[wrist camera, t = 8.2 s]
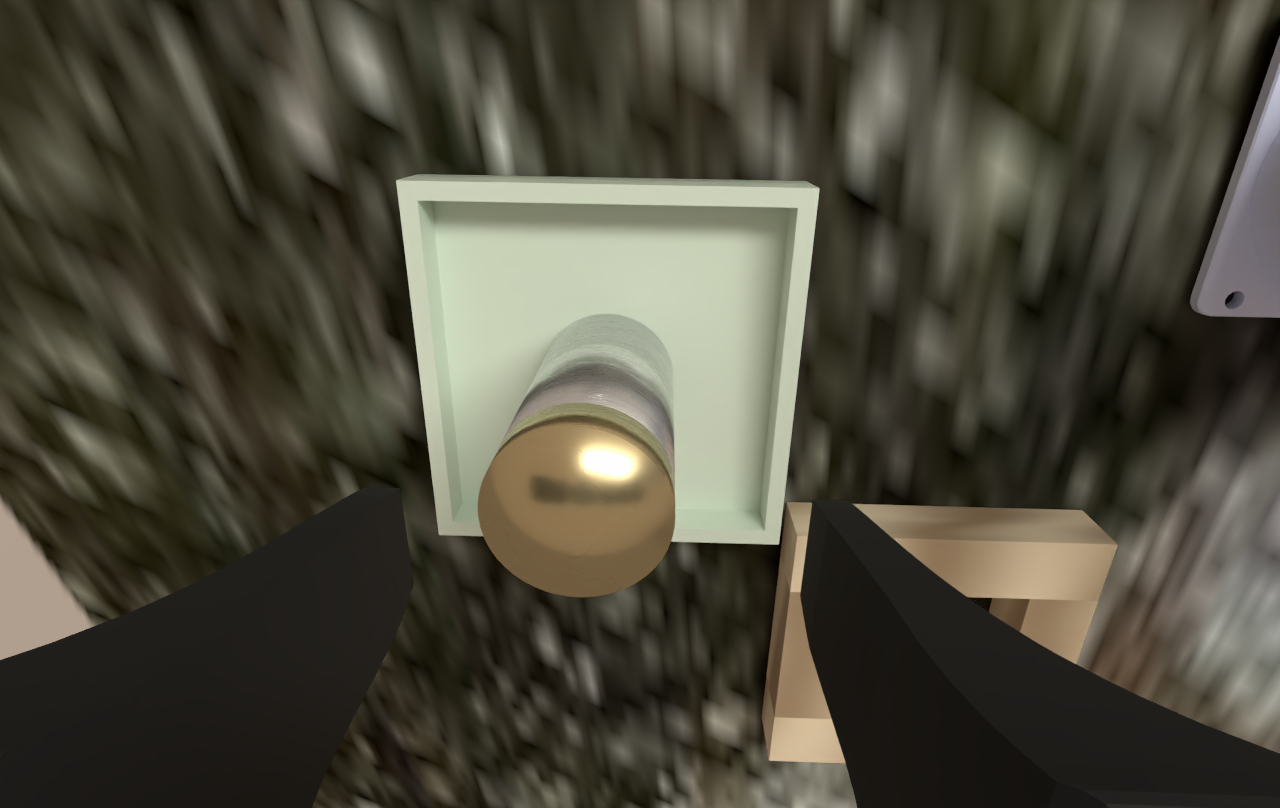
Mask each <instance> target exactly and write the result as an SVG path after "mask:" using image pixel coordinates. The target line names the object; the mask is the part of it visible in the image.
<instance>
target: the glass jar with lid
mask: <svg viewBox="0 0 1280 808" xmlns="http://www.w3.org/2000/svg"><path fill="white" fill-rule="evenodd" d="M477 506H478V519H479V523H480V528H481V531H482V533H483V536H484V539H485V541H486V542H487V544H488V546H489V548H490V550H491V551H492V552H493V554H494V555H495V557H496V558H497V559H498V560H499V561H500V562H501V563H502V565H503V566H504V567H505V568H507V569H508V570H509V571H510V572H511V573H512V574H514V575H515V576H517V577H518V578H520V579H521V580H522V581H524V582H526V583H528V584H530V585H532V586H534V587H536V588H539V589H541V590H544V591H546V592H550V593H554V594H557V595H563V596H569V597H595V596H602V595H607V594H611V593H614V592H618V591H620V590H623V589H625V588H628V587H630V586H631V585H633V584H635V583H637V582H639V581H640V580H641V579H643V578H644V577H645V576H647V575H648V574H649V573H650V572H651V571H652V570H653V569H654V568H655V567H656V566H657V565H658V564H659V562H660V561H661V560H662V558H663V557H664V555H665V553H666V552H667V550H668V548H669V545H670V543H671V540H672V537H673V533H674V528H675V459H674V391H673V367H672V363H671V359H670V356H669V353H668V351H667V349H666V347H665V346H664V344H663V343H662V341H661V340H660V338H659V337H658V336H657V335H656V334H655V333H654V332H653V331H652V330H650V329H649V328H648V327H647V326H645V325H644V324H642V323H640V322H638V321H636V320H634V319H632V318H629V317H626V316H622V315H617V314H596V315H591V316H587V317H584V318H581V319H579V320H577V321H575V322H573V323H572V324H570V325H569V326H567V327H566V328H565V329H564V330H563V331H561V332H560V333H559V335H558V336H557V337H556V338H555V339H554V341H553V343H552V344H551V346H550V348H549V350H548V352H547V354H546V356H545V358H544V360H543V362H542V364H541V366H540V367H539V369H538V371H537V373H536V375H535V377H534V379H533V381H532V383H531V385H530V387H529V389H528V391H527V393H526V395H525V397H524V399H523V401H522V403H521V405H520V407H519V409H518V411H517V413H516V415H515V417H514V419H513V421H512V423H511V425H510V427H509V428H508V430H507V432H506V434H505V436H504V438H503V440H502V442H501V444H500V446H499V448H498V450H497V452H496V454H495V456H494V458H493V460H492V462H491V464H490V466H489V468H488V470H487V472H486V474H485V476H484V478H483V481H482V483H481V487H480V491H479V495H478V505H477Z"/></svg>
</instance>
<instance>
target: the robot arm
mask: <svg viewBox="0 0 1280 808" xmlns="http://www.w3.org/2000/svg"><path fill="white" fill-rule="evenodd" d="M1232 292H1234V297H1233V299H1232V300H1231V302H1229V303H1228V304H1226V305H1225V299H1226V298H1227V296H1228V295H1229V294H1231V293H1232ZM1190 304H1191V307H1192V309H1193V310H1195V311H1196V312H1198V313H1200V314H1203V315H1207V316H1225V317H1271V318H1280V36H1279V39H1278V42H1277V45H1276V48H1275V51H1274V54H1273V57H1272V59H1271V62H1270V65H1269V68H1268V71H1267V74H1266V77H1265V80H1264V83H1263V86H1262V89H1261V92H1260V95H1259V98H1258V101H1257V103H1256V106H1255V109H1254V112H1253V115H1252V118H1251V121H1250V124H1249V127H1248V130H1247V133H1246V136H1245V139H1244V142H1243V145H1242V148H1241V150H1240V153H1239V156H1238V159H1237V162H1236V165H1235V168H1234V171H1233V174H1232V177H1231V180H1230V183H1229V186H1228V189H1227V192H1226V195H1225V197H1224V200H1223V203H1222V206H1221V209H1220V212H1219V215H1218V218H1217V221H1216V224H1215V227H1214V230H1213V233H1212V236H1211V239H1210V242H1209V244H1208V247H1207V250H1206V253H1205V256H1204V259H1203V262H1202V265H1201V268H1200V271H1199V274H1198V277H1197V280H1196V283H1195V286H1194V289H1193V291H1192V294H1191V299H1190ZM413 584H414V582H413V575H412V568H411V562H410V555H409V548H408V541H407V534H406V527H405V520H404V514H403V507H402V500H401V493H400V488H364V489H361V490H359V491H357V492H355V493H353V494H351V495H350V496H348V497H346V498H344V499H342V500H341V501H339V502H337V503H335V504H334V505H332V506H330V507H329V508H327V509H325V510H324V511H322V512H320V513H319V514H317V515H315V516H314V517H312V518H310V519H309V520H307V521H305V522H303V523H302V524H300V525H298V526H297V527H295V528H293V529H292V530H290V531H288V532H287V533H285V534H283V535H282V536H280V537H278V538H276V539H275V540H273V541H271V542H270V543H268V544H266V545H264V546H263V547H261V548H259V549H257V550H255V551H253V552H252V553H250V554H248V555H246V556H244V557H242V558H241V559H239V560H237V561H235V562H233V563H231V564H230V565H228V566H226V567H224V568H222V569H220V570H219V571H217V572H215V573H213V574H211V575H209V576H207V577H205V578H203V579H201V580H199V581H197V582H196V583H193V584H191V585H189V586H187V587H185V588H183V589H181V590H179V591H177V592H175V593H172V594H170V595H168V596H166V597H164V598H161V599H159V600H157V601H155V602H153V603H150V604H148V605H146V606H144V607H142V608H139V609H137V610H134V611H132V612H130V613H127V614H125V615H122V616H120V617H117V618H115V619H112V620H110V621H107V622H104V623H102V624H99V625H97V626H94V627H91V628H89V629H86V630H84V631H81V632H79V633H76V634H74V635H71V636H68V637H66V638H63V639H60V640H58V641H55V642H52V643H50V644H47V645H44V646H41V647H38V648H35V649H32V650H30V651H26V652H23V653H20V654H18V655H15V656H11V657H8V658H5V659H2V660H0V808H312V805H313V803H314V800H315V798H316V795H317V793H318V790H319V787H320V785H321V782H322V780H323V778H324V775H325V773H326V771H327V769H328V767H329V765H330V763H331V760H332V758H333V756H334V754H335V752H336V750H337V748H338V746H339V744H340V742H341V740H342V738H343V736H344V734H345V732H346V731H347V729H348V727H349V725H350V723H351V721H352V719H353V717H354V715H355V713H356V711H357V709H358V708H359V706H360V704H361V702H362V700H363V698H364V696H365V694H366V692H367V690H368V688H369V686H370V685H371V683H372V681H373V679H374V677H375V675H376V673H377V671H378V669H379V667H380V665H381V663H382V661H383V659H384V657H385V655H386V653H387V651H388V649H389V648H390V646H391V643H392V641H393V639H394V637H395V635H396V633H397V630H398V628H399V625H400V622H401V620H402V617H403V614H404V611H405V608H406V605H407V602H408V599H409V596H410V593H411V590H412V587H413ZM800 598H801V604H802V610H803V616H804V622H805V628H806V633H807V639H808V644H809V649H810V652H811V655H812V658H813V662H814V665H815V668H816V671H817V675H818V678H819V681H820V684H821V687H822V691H823V694H824V697H825V700H826V703H827V706H828V709H829V712H830V716H831V719H832V722H833V725H834V728H835V731H836V734H837V737H838V741H839V744H840V747H841V750H842V753H843V756H844V759H845V762H846V766H847V769H848V773H849V776H850V780H851V784H852V787H853V791H854V794H855V799H856V803H857V808H1280V754H1279V753H1276V752H1274V751H1271V750H1269V749H1266V748H1263V747H1261V746H1258V745H1256V744H1253V743H1250V742H1248V741H1245V740H1242V739H1240V738H1237V737H1235V736H1232V735H1229V734H1227V733H1224V732H1222V731H1219V730H1216V729H1214V728H1211V727H1209V726H1206V725H1204V724H1201V723H1199V722H1196V721H1194V720H1192V719H1189V718H1187V717H1185V716H1183V715H1180V714H1178V713H1176V712H1174V711H1172V710H1169V709H1167V708H1165V707H1163V706H1160V705H1158V704H1156V703H1154V702H1151V701H1149V700H1147V699H1145V698H1142V697H1140V696H1138V695H1136V694H1134V693H1132V692H1130V691H1128V690H1126V689H1124V688H1121V687H1119V686H1117V685H1115V684H1113V683H1111V682H1109V681H1107V680H1105V679H1103V678H1101V677H1099V676H1097V675H1095V674H1094V673H1092V672H1090V671H1088V670H1086V669H1084V668H1082V667H1080V666H1078V665H1077V664H1075V663H1073V662H1071V661H1069V660H1067V659H1065V658H1063V657H1061V656H1060V655H1058V654H1056V653H1054V652H1052V651H1051V650H1049V649H1047V648H1045V647H1044V646H1042V645H1040V644H1038V643H1037V642H1035V641H1033V640H1032V639H1030V638H1029V637H1027V636H1025V635H1024V634H1022V633H1021V632H1019V631H1017V630H1016V629H1014V628H1013V627H1011V626H1009V625H1008V624H1006V623H1005V622H1003V621H1001V620H1000V619H998V618H997V617H995V616H994V615H992V614H991V613H989V612H988V611H986V610H985V609H983V608H982V607H980V606H979V605H977V604H976V603H974V602H973V601H972V600H970V599H969V598H968V597H966V596H965V595H964V594H962V593H961V592H959V591H958V590H957V589H955V588H954V587H953V586H951V585H950V584H949V583H947V582H946V581H944V580H943V579H942V578H941V577H939V576H938V575H937V574H936V573H934V572H933V571H932V570H930V569H929V568H928V567H927V566H925V565H924V564H923V563H922V562H920V561H919V560H918V559H917V558H916V557H914V556H913V555H912V554H911V553H910V552H908V551H907V550H906V549H905V548H904V547H902V546H901V545H900V544H899V543H898V542H897V541H895V540H894V539H893V538H892V537H891V536H890V535H888V534H887V533H886V532H885V531H884V530H883V529H881V528H880V527H879V526H878V525H877V524H876V523H875V522H873V521H872V520H871V519H870V518H869V517H868V516H866V515H865V514H864V513H863V512H862V511H861V510H859V509H858V508H857V507H856V506H855V505H853V504H852V503H851V502H849V501H845V500H812V508H811V516H810V523H809V531H808V538H807V546H806V554H805V561H804V569H803V577H802V584H801V592H800Z"/></svg>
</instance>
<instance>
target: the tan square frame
mask: <svg viewBox="0 0 1280 808" xmlns="http://www.w3.org/2000/svg"><path fill="white" fill-rule="evenodd" d="M853 505H855V506H856V507H857V508H858V509H859V510H861V511H862V512H863V513H864V514H865V515H866V516H868V517H869V518H870V519H871V520H872V521H873V522H875V523H876V524H877V525H878V526H879V527H880V528H881V529H883V530H884V531H885V532H886V533H887V534H888V535H890V536H891V537H892V538H893V539H894V540H895V541H897V542H898V543H899V544H900V545H901V546H902V547H904V548H905V549H906V550H907V551H908V552H910V553H911V554H912V555H913V556H914V557H916V558H917V559H918V560H919V561H920V562H922V563H923V564H924V565H925V566H927V567H928V568H929V569H930V570H932V571H933V572H934V573H936V574H937V575H938V576H939V577H941V578H942V579H943V580H944V581H946V582H947V583H949V584H950V585H951V586H953V587H954V588H955V589H957V590H958V591H959V592H961V593H962V594H964V595H965V596H966V597H979V598H992V601H991V605H990V608H989V613H991V614H992V615H994V616H995V617H997V618H998V619H1000V620H1001V621H1003V622H1005V623H1006V624H1008V625H1009V626H1011V627H1013V628H1014V629H1016V630H1017V631H1019V632H1021V633H1022V634H1024V635H1025V636H1027V637H1029V638H1030V639H1032V640H1033V641H1035V642H1037V643H1038V644H1040V645H1042V646H1044V647H1045V648H1047V649H1049V650H1051V651H1052V652H1054V653H1056V654H1058V655H1060V656H1061V657H1063V658H1065V659H1067V660H1069V661H1071V662H1073V663H1075V664H1077V661H1078V658H1079V655H1080V652H1081V649H1082V646H1083V644H1084V641H1085V638H1086V635H1087V632H1088V629H1089V626H1090V623H1091V621H1092V618H1093V615H1094V612H1095V609H1096V606H1097V603H1098V601H1099V598H1100V595H1101V592H1102V589H1103V586H1104V583H1105V580H1106V578H1107V575H1108V572H1109V569H1110V566H1111V563H1112V560H1113V557H1114V555H1115V552H1116V549H1117V546H1118V544H1117V543H1116V542H1115V541H1114V540H1113V539H1112V538H1111V537H1110V536H1109V535H1107V534H1106V533H1105V532H1104V531H1103V530H1102V529H1101V528H1100V527H1099V526H1098V525H1097V524H1096V523H1095V522H1094V521H1093V520H1092V519H1091V518H1090V517H1089V516H1088V515H1087V514H1086V513H1085V512H1084V511H1082V510H1059V509H1022V508H985V507H948V506H911V505H874V504H853ZM811 508H812V503H801V502H787V503H786V512H785V521H784V529H783V538H782V547H781V555H780V564H779V573H778V581H777V590H776V598H775V607H774V616H773V624H772V633H771V642H770V650H769V659H768V668H767V676H766V685H765V693H764V702H763V711H762V721H763V727H764V733H765V740H766V746H767V752H768V758H769V761H795V762H824V763H846V762H845V759H844V756H843V753H842V750H841V747H840V744H839V741H838V737H837V734H836V731H835V728H834V725H833V722H832V719H831V716H830V712H829V709H828V706H827V703H826V700H825V697H824V694H823V691H822V687H821V684H820V681H819V678H818V675H817V671H816V668H815V665H814V662H813V658H812V655H811V652H810V649H809V644H808V639H807V633H806V628H805V622H804V616H803V610H802V604H801V598H800V592H801V584H802V577H803V569H804V561H805V554H806V546H807V538H808V531H809V523H810V516H811Z"/></svg>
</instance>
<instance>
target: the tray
mask: <svg viewBox="0 0 1280 808" xmlns="http://www.w3.org/2000/svg"><path fill="white" fill-rule="evenodd" d="M396 184H397V192H398V200H399V209H400V217H401V225H402V233H403V242H404V250H405V258H406V267H407V275H408V283H409V291H410V300H411V308H412V316H413V324H414V333H415V341H416V349H417V358H418V366H419V374H420V382H421V391H422V399H423V407H424V416H425V424H426V432H427V440H428V449H429V457H430V465H431V473H432V482H433V490H434V498H435V507H436V515H437V523H438V531H439V535H456V536H483V533H482V531H481V528H480V523H479V519H478V506H477V505H478V495H479V491H480V487H481V483H482V481H483V478H484V476H485V474H486V472H487V470H488V468H489V466H490V464H491V462H492V460H493V458H494V456H495V454H496V452H497V450H498V448H499V446H500V444H501V442H502V440H503V438H504V436H505V434H506V432H507V430H508V428H509V427H510V425H511V423H512V421H513V419H514V417H515V415H516V413H517V411H518V409H519V407H520V405H521V403H522V401H523V399H524V397H525V395H526V393H527V391H528V389H529V387H530V385H531V383H532V381H533V379H534V377H535V375H536V373H537V371H538V369H539V367H540V366H541V364H542V362H543V360H544V358H545V356H546V354H547V352H548V350H549V348H550V346H551V344H552V343H553V341H554V339H555V338H556V337H557V336H558V335H559V333H560V332H561V331H563V330H564V329H565V328H566V327H567V326H569V325H570V324H572V323H573V322H575V321H577V320H579V319H581V318H584V317H587V316H591V315H596V314H617V315H622V316H626V317H629V318H632V319H634V320H636V321H638V322H640V323H642V324H644V325H645V326H647V327H648V328H649V329H650V330H652V331H653V332H654V333H655V334H656V335H657V336H658V337H659V338H660V340H661V341H662V343H663V344H664V346H665V347H666V349H667V351H668V353H669V356H670V359H671V363H672V367H673V391H674V459H675V528H674V533H673V537H672V540H671V542H703V543H738V544H774V545H779V539H780V531H781V522H782V513H783V504H784V495H785V487H786V478H787V469H788V460H789V452H790V443H791V434H792V425H793V416H794V408H795V399H796V390H797V381H798V372H799V364H800V355H801V346H802V337H803V329H804V320H805V311H806V302H807V293H808V285H809V276H810V267H811V258H812V249H813V241H814V232H815V223H816V214H817V206H818V197H819V188H818V187H816V186H814V185H812V184H810V183H809V182H807V181H770V180H715V179H660V178H605V177H549V176H494V175H439V174H417V175H414V176H410V177H406V178H403V179H399V180H396Z"/></svg>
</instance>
